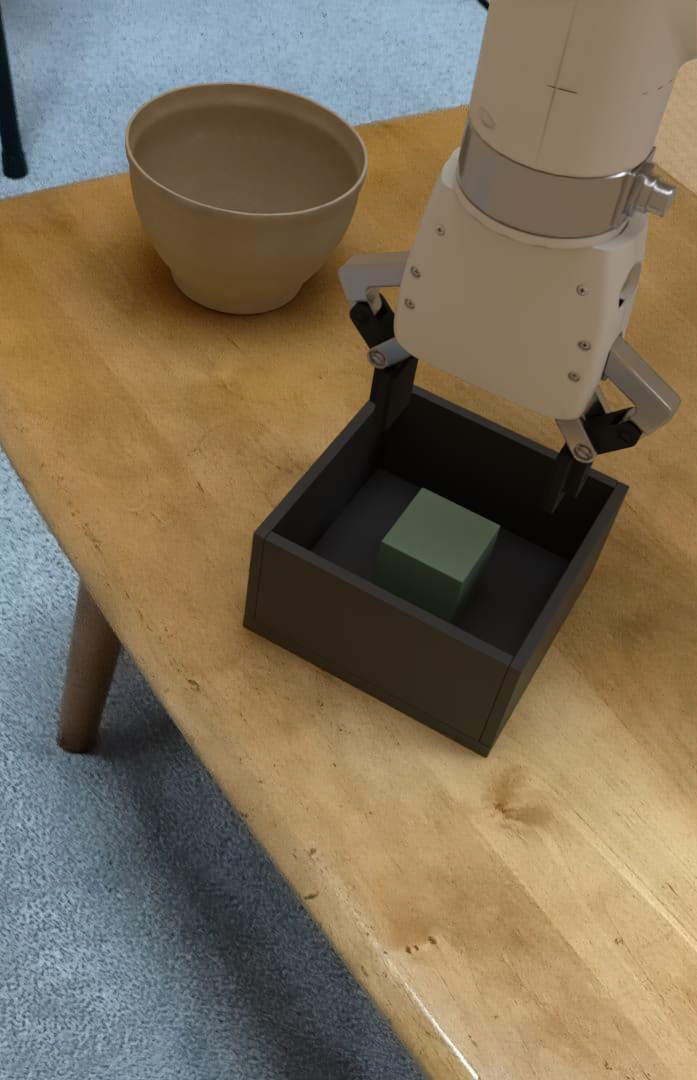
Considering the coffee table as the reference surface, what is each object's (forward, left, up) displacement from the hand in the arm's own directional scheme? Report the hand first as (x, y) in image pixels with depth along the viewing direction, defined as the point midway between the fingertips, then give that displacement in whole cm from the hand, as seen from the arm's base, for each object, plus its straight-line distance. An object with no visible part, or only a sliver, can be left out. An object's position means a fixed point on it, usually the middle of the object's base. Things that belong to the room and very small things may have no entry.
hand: (472, 454), depth 64 cm
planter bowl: (+25, -19, -12) cm, 34 cm away
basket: (0, 0, -12) cm, 12 cm away
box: (0, +1, -11) cm, 11 cm away
